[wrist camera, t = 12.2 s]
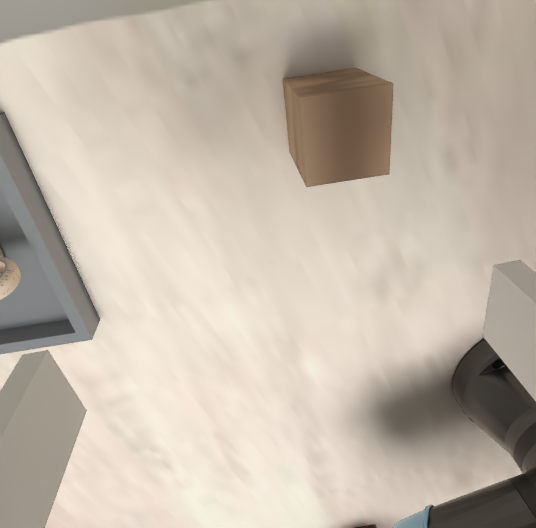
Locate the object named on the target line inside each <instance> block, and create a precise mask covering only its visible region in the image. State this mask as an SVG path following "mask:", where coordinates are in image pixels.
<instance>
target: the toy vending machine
mask: <svg viewBox="0 0 536 528" xmlns="http://www.w3.org/2000/svg"><path fill="white" fill-rule="evenodd" d="M357 528H376V525H369V526H363V527H357Z"/></svg>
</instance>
